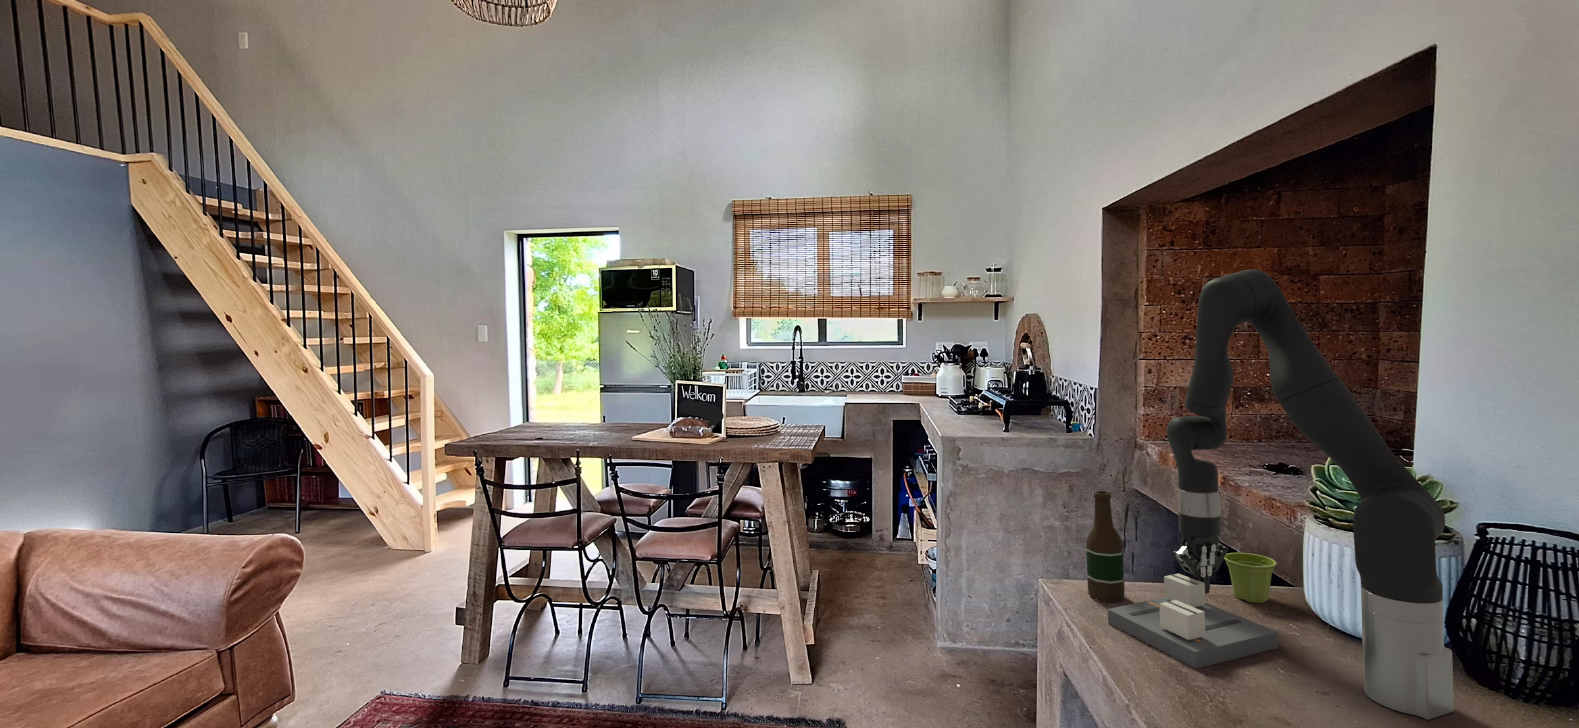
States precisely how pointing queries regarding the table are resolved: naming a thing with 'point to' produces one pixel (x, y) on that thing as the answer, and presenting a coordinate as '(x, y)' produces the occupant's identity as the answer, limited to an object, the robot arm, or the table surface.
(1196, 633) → the block
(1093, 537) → the beer bottle
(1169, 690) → the table surface
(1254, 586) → the plant pot
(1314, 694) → the table surface
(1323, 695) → the table surface
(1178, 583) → the block
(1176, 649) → the fader board
